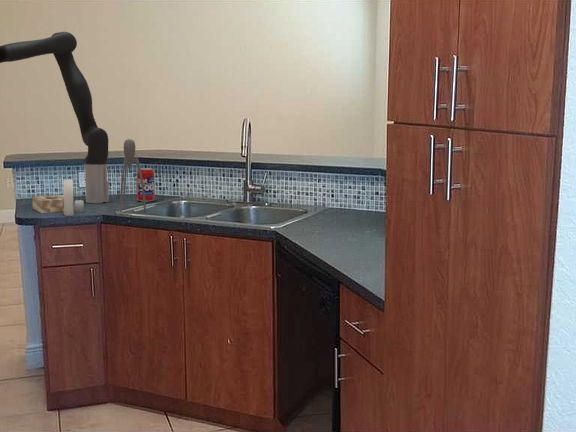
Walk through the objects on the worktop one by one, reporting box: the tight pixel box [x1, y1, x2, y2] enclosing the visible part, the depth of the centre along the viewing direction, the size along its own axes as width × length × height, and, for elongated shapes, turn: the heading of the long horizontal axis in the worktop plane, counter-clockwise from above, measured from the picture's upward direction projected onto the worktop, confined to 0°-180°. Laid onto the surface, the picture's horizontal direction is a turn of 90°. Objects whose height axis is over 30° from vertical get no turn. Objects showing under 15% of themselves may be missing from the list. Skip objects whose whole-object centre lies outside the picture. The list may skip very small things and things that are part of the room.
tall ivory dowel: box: [62, 179, 75, 217], centre depth 284 cm, size 4×4×14 cm
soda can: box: [136, 167, 155, 203], centre depth 326 cm, size 8×8×15 cm
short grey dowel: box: [73, 199, 85, 213], centre depth 294 cm, size 4×4×4 cm
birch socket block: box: [31, 195, 64, 214], centre depth 296 cm, size 12×12×5 cm
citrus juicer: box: [119, 138, 147, 213], centre depth 295 cm, size 11×10×30 cm
